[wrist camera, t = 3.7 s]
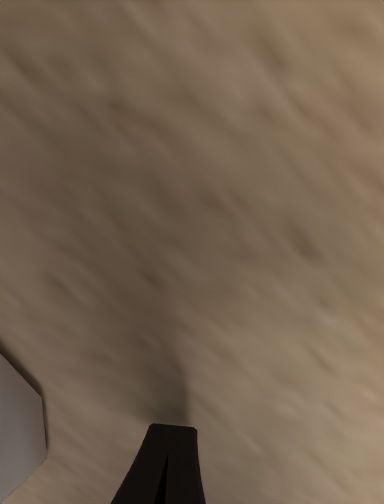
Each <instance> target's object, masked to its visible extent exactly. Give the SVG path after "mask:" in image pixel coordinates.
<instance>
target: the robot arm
mask: <svg viewBox="0 0 384 504" xmlns="http://www.w3.org/2000/svg"><path fill="white" fill-rule="evenodd" d="M197 432H198V431H197V430H196V429H195V428H194V427H186V426H176V425H165V424H155V423H153V424H151V425H150V426H149V428H148V431H147V433H146V436H145V438H144V440H143V443H142V445H141V447H140V449H139V451H138V454H137V456H136V458H135V460H134V462H133V464H132V466H131V468H130V470H129V471H128V473H127V475H126V477H125V479H124V481H123V482H122V484H121V486H120V488H119V490H118V491H117V493H116V495H115V497H114V499H113V500H112V502H111V504H206V502H205V497H204V492H203V486H202V481H201V474H200V467H199V458H198V445H197Z"/></svg>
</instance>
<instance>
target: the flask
mask: <svg viewBox="0 0 384 504" xmlns="http://www.w3.org/2000/svg"><path fill="white" fill-rule="evenodd" d="M46 458H47V453H46V442H45V430H44V419H43V407H42V398H41V397H40V395H39V394H38V393H37V392H36V391H35V390H34V389H33V388H32V387H31V386H30V385H29V384H28V383H27V382H26V381H25V379H24V378H23V377H22V376H21V375H20V374H19V373H18V372H17V371H16V370H15V369H14V368H13V367H12V366H11V364H10V363H9V362H8V361H7V360H6V359H5V358H4V357H3V356H2V355H1V354H0V504H1V503H2V502H3V501H4V500H5V499H6V498H7V497H8V496H9V495H10V494H11V493H12V492H13V491H14V490H15V489H16V488H17V487H18V486H19V485H20V484H22V483H23V482H24V481H25V480H26V479H27V478H28V477H29V476H30V475H31V474H32V473H33V472H34V471H35V470H36V469H37V468H38V467H39V466H40V465H41V464H42V463H43V462H44V461H45V460H46Z"/></svg>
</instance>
